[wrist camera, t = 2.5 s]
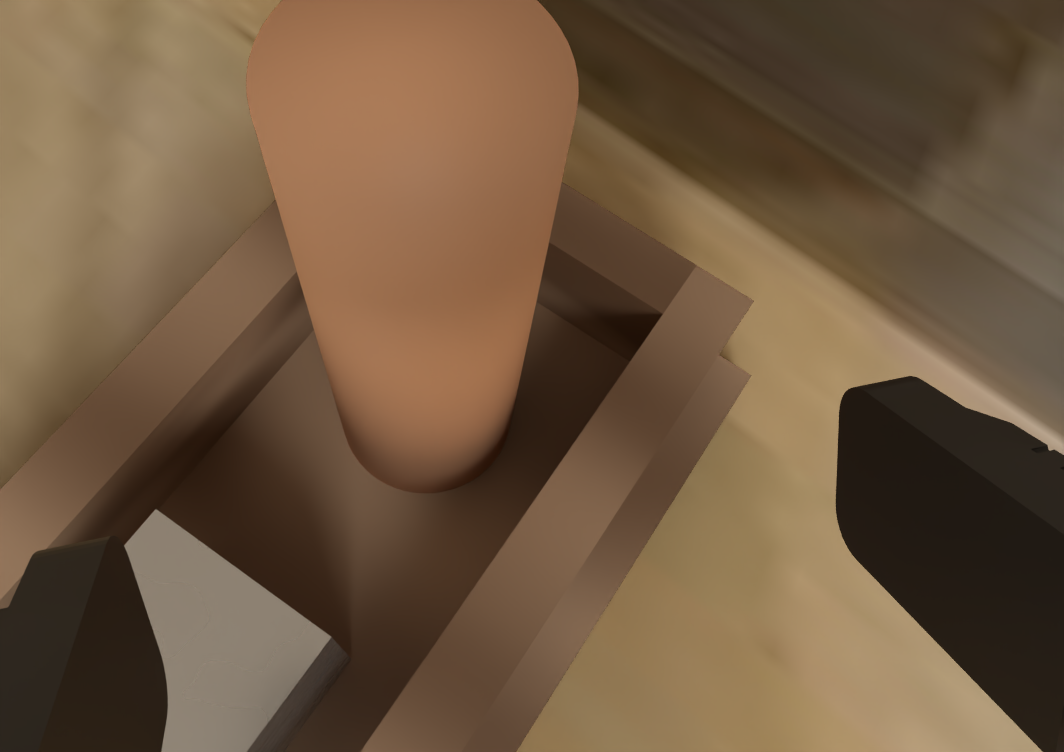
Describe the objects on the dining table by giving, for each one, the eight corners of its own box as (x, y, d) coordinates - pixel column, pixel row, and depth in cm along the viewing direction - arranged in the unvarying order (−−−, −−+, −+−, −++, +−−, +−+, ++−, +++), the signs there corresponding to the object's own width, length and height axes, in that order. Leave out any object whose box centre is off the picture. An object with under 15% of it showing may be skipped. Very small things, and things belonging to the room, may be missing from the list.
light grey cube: (206, 552, 21) (155, 509, 17) (351, 658, 20) (331, 636, 17) (74, 711, 19) (-12, 701, 16) (226, 830, 19) (174, 848, 15)
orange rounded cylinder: (409, 306, 24) (383, -95, 12) (542, 394, 23) (639, 56, 12) (307, 430, 22) (174, 101, 11) (446, 526, 22) (454, 283, 10)
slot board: (369, 154, 26) (358, 56, 23) (739, 389, 25) (792, 324, 21) (-238, 814, 19) (-401, 827, 15) (226, 1209, 17) (169, 1330, 14)
